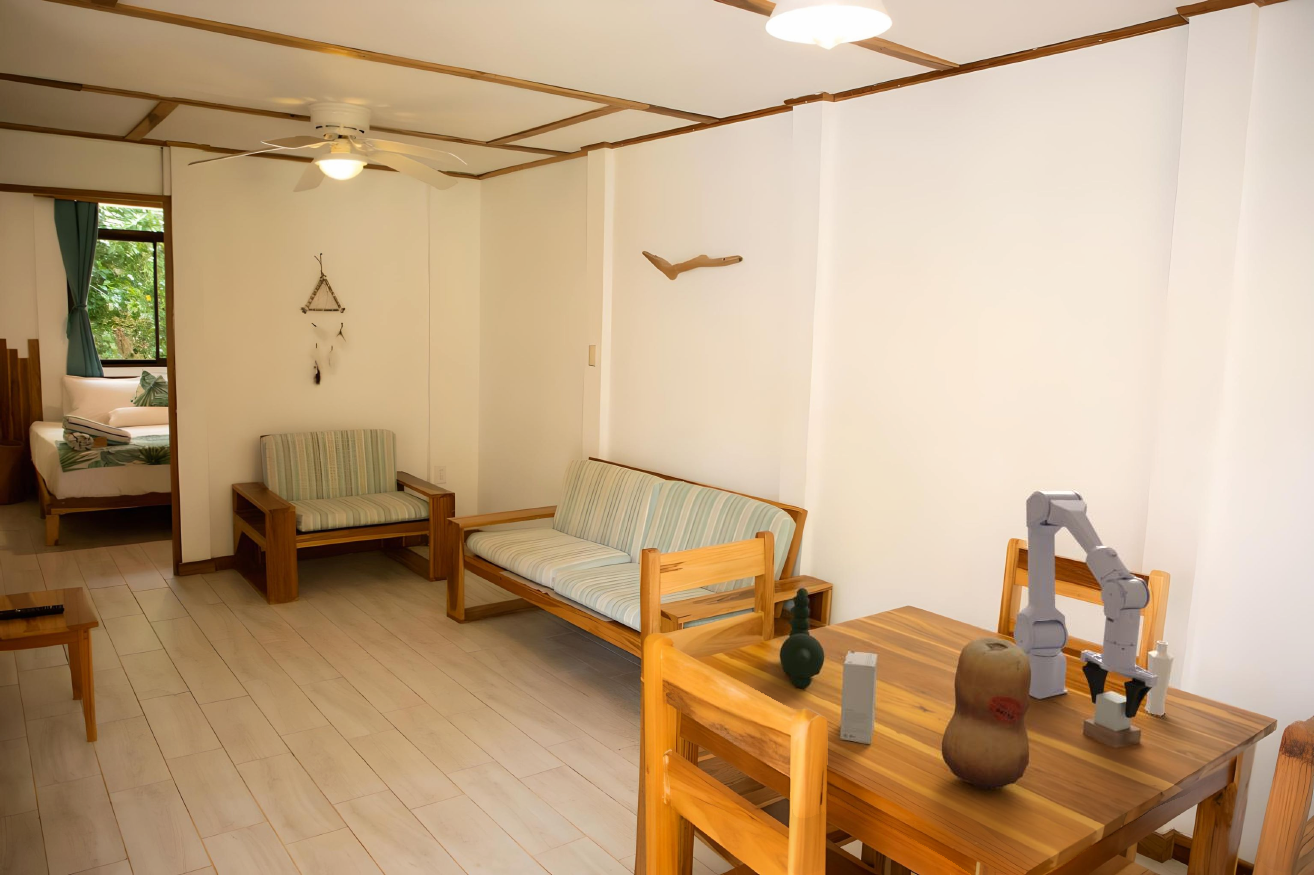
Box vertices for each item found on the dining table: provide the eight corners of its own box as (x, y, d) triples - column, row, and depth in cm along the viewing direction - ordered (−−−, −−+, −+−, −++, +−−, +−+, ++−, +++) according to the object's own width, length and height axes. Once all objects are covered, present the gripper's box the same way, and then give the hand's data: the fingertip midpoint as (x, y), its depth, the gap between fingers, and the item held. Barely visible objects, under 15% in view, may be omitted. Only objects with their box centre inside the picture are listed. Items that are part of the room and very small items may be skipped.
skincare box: (871, 745, 164) (876, 667, 162) (837, 739, 165) (842, 662, 164) (874, 727, 171) (879, 652, 170) (842, 721, 173) (847, 648, 172)
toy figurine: (777, 662, 208) (778, 695, 183) (781, 582, 208) (783, 604, 183) (817, 666, 207) (824, 699, 182) (822, 585, 207) (830, 607, 182)
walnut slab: (1107, 729, 176) (1108, 714, 175) (1139, 744, 169) (1141, 729, 169) (1082, 734, 173) (1084, 719, 172) (1114, 750, 166) (1116, 735, 166)
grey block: (1108, 718, 174) (1111, 691, 173) (1130, 727, 170) (1133, 699, 169) (1093, 721, 172) (1096, 694, 171) (1115, 731, 168) (1118, 703, 167)
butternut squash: (957, 804, 144) (970, 655, 141) (928, 764, 157) (939, 627, 154) (1041, 805, 144) (1055, 657, 142) (1005, 765, 158) (1017, 629, 155)
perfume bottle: (1166, 710, 185) (1174, 640, 183) (1168, 718, 181) (1176, 647, 179) (1141, 705, 187) (1148, 637, 185) (1143, 713, 183) (1150, 643, 181)
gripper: (1072, 631, 173) (1066, 698, 175) (1143, 656, 161) (1135, 728, 162) (1096, 627, 177) (1089, 692, 178) (1167, 651, 164) (1159, 721, 166)
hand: (1113, 709), depth 170 cm, fingers open, 6 cm apart
